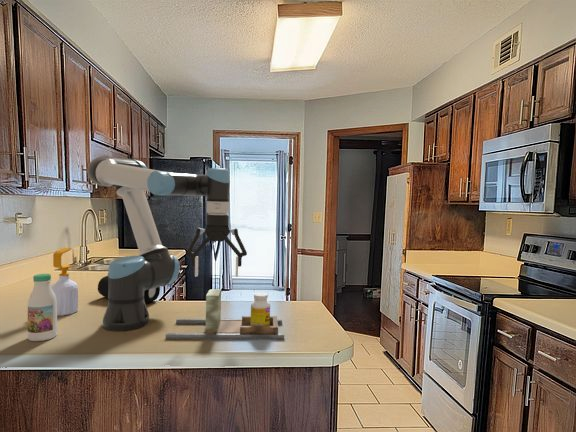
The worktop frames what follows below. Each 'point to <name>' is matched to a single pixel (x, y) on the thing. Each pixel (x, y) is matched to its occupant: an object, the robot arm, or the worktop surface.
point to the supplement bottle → (260, 310)
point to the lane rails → (219, 335)
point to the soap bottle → (64, 287)
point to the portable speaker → (148, 294)
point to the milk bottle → (42, 310)
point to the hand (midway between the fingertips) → (216, 275)
